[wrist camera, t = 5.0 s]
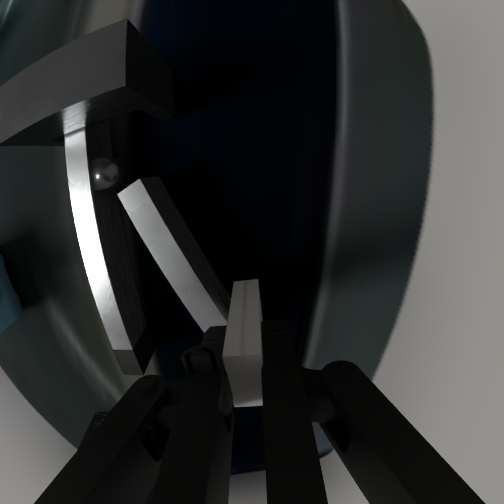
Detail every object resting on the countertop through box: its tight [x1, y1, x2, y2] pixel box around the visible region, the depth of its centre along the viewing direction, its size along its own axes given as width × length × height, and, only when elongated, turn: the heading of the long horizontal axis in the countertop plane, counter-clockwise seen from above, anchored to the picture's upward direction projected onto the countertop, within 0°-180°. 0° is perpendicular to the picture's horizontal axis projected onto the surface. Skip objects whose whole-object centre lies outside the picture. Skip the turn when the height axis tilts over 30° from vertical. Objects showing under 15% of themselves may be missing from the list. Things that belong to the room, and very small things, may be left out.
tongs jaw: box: [117, 176, 231, 333], centre depth 14 cm, size 11×2×3 cm, turn 28°
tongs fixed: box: [64, 122, 156, 375], centre depth 14 cm, size 15×3×3 cm, turn 6°
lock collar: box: [0, 19, 175, 146], centre depth 10 cm, size 3×7×7 cm, turn 96°
